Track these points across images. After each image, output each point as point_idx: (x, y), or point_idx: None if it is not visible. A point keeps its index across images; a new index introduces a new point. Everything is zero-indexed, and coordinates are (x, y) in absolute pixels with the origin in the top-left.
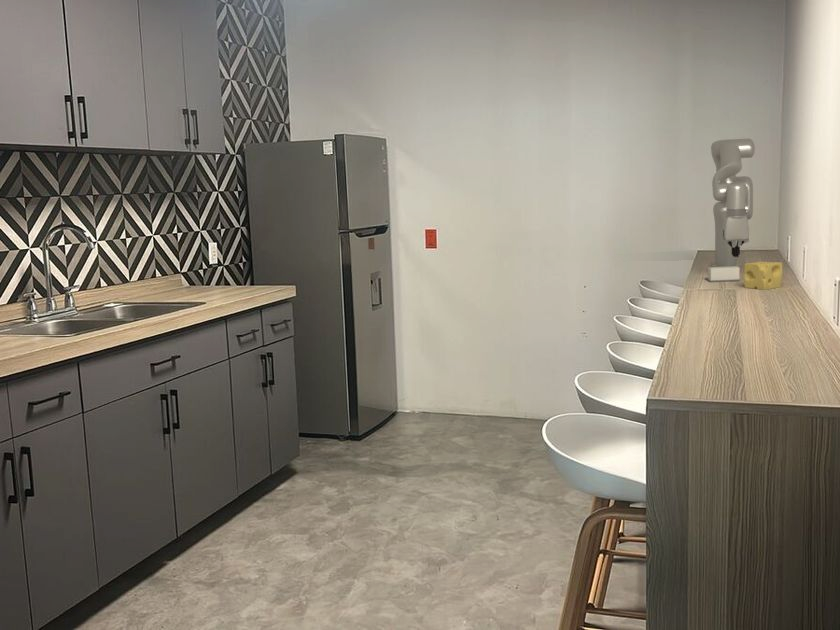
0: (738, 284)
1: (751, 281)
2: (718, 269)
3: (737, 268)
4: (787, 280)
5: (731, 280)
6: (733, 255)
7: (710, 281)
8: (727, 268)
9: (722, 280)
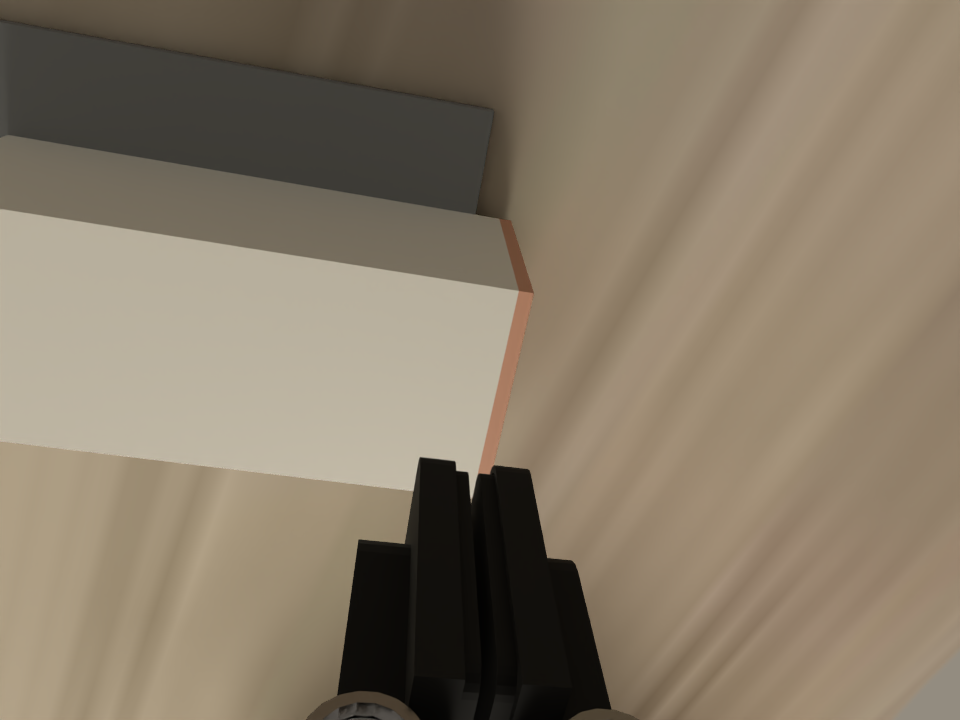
0: (312, 663)
1: None
2: (75, 440)
3: None
4: (933, 600)
5: None
6: (408, 531)
7: None
8: (252, 465)
9: None
